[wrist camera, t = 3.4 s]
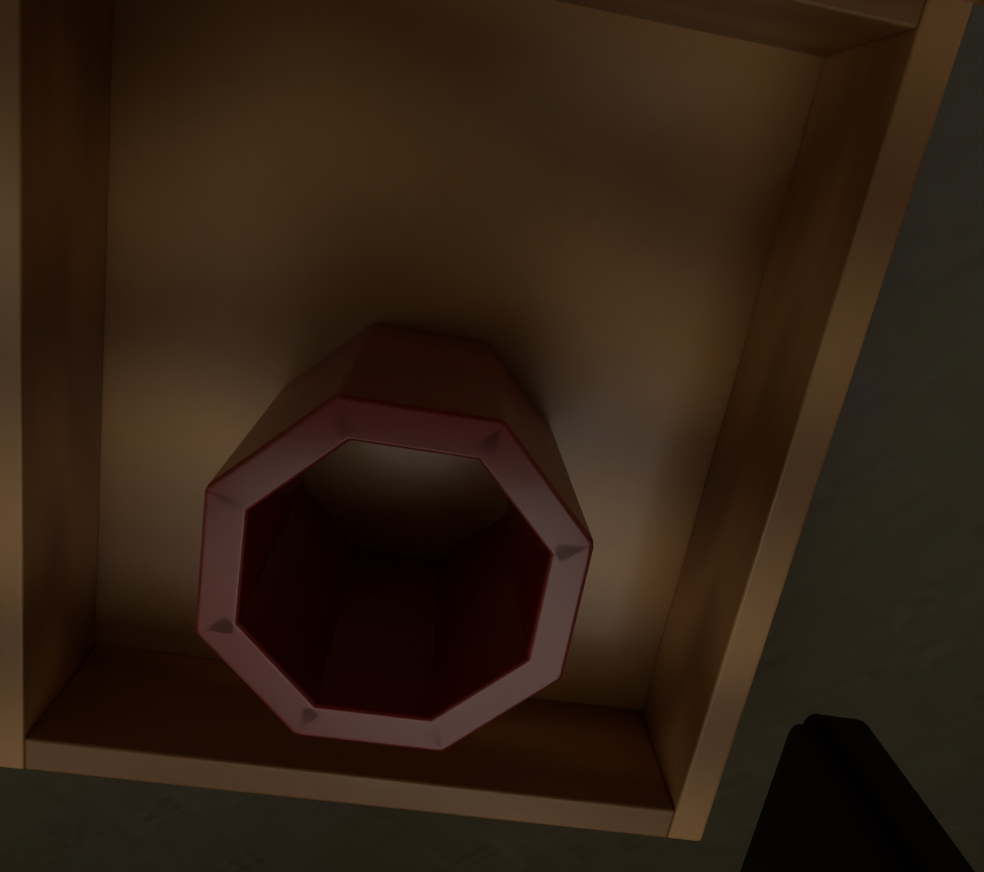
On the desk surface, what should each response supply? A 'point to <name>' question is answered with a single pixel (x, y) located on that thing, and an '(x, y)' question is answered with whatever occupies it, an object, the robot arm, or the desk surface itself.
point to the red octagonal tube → (392, 577)
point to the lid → (975, 1)
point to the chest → (447, 310)
